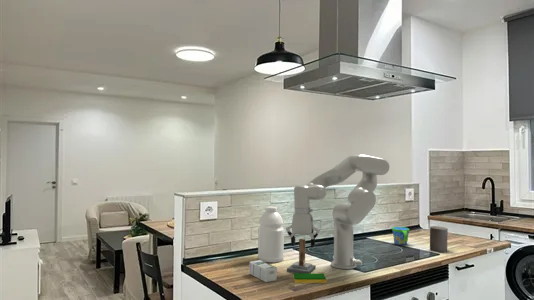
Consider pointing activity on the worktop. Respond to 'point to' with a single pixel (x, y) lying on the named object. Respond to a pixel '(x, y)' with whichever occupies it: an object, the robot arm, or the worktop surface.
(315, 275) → the dish sponge
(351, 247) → the robot arm
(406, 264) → the worktop surface
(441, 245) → the pillar candle
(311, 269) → the rubber mat
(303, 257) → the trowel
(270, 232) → the bottle
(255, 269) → the syrup box
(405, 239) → the snack cup
